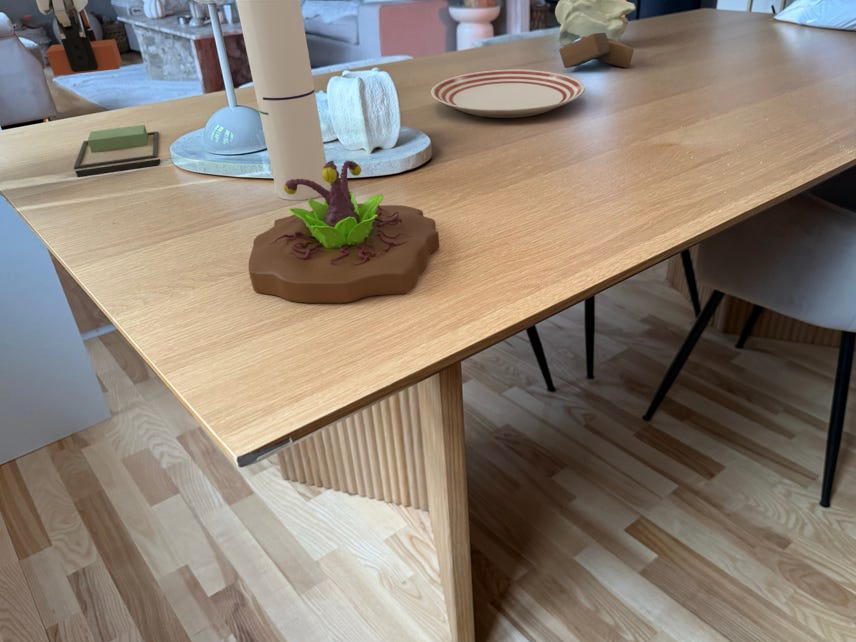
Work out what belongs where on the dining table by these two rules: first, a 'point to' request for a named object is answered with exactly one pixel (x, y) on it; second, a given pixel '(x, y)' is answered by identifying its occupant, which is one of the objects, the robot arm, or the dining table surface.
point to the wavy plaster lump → (591, 18)
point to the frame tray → (117, 161)
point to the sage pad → (118, 138)
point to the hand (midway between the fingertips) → (87, 64)
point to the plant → (342, 246)
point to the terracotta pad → (102, 50)
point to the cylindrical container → (284, 92)
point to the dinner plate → (507, 92)
